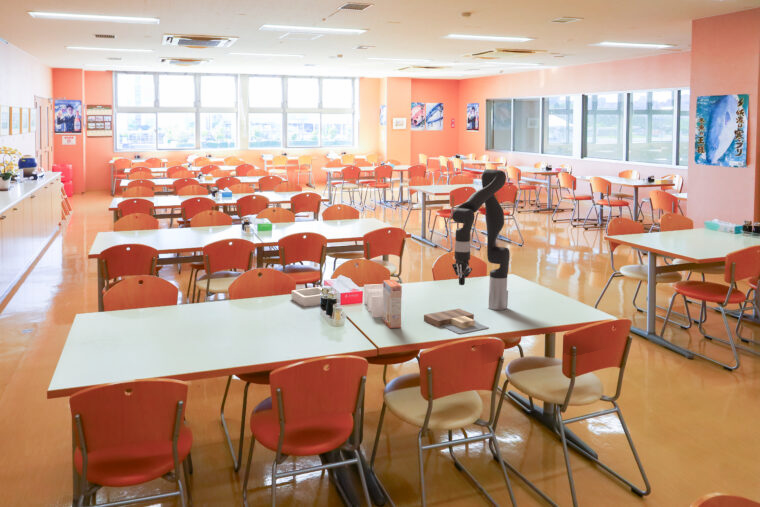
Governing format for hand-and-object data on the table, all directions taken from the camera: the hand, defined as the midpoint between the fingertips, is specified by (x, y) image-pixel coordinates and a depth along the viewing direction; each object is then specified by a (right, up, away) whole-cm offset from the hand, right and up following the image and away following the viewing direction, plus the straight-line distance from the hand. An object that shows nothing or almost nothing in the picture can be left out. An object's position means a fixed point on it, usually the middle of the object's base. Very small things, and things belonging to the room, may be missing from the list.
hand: (461, 284), depth 313 cm
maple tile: (+1, -20, +1) cm, 20 cm away
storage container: (-41, -15, +27) cm, 51 cm away
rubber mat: (+1, -20, -1) cm, 20 cm away
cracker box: (-34, -20, +3) cm, 39 cm away
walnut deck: (-5, -18, +10) cm, 21 cm away
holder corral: (-77, -11, +44) cm, 89 cm away
